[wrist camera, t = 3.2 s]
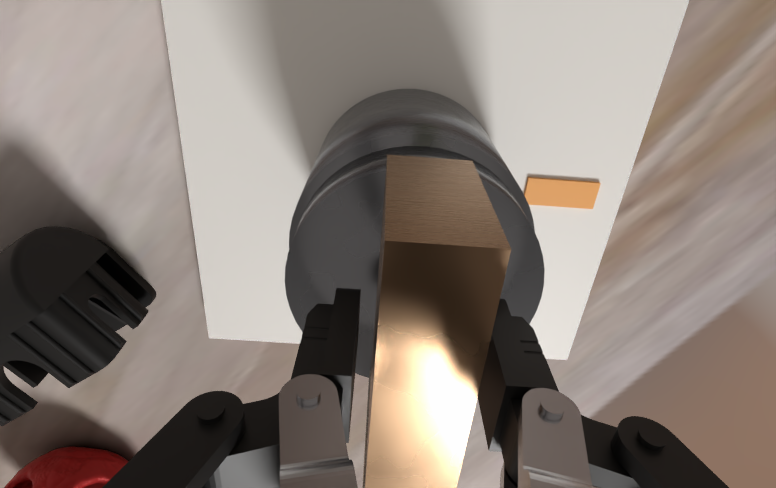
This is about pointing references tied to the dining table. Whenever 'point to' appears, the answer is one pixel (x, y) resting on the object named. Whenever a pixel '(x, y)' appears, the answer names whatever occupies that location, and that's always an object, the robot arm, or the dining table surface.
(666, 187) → the dining table surface
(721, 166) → the dining table surface
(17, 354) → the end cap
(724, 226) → the dining table surface
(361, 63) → the lock base
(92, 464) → the pomegranate
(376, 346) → the lock lever handle
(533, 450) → the robot arm
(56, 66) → the dining table surface
